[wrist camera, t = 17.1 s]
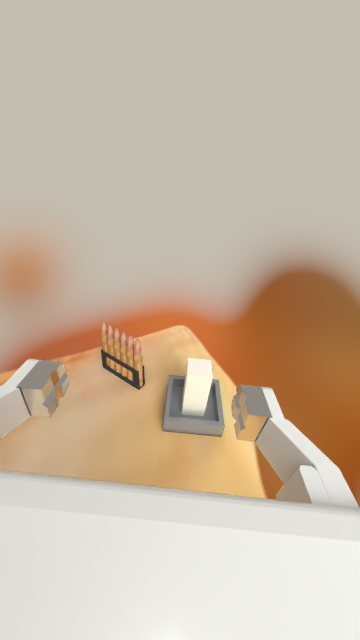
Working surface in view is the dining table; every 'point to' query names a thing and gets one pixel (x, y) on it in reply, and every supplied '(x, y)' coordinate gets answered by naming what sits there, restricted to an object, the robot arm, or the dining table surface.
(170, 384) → the box
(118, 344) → the ammunition clip
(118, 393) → the dining table surface
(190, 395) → the cream block
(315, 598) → the robot arm
